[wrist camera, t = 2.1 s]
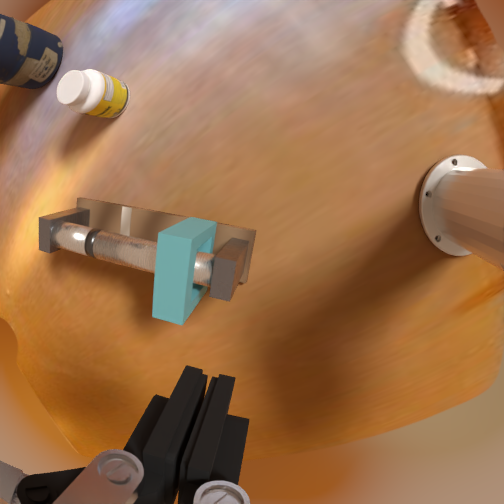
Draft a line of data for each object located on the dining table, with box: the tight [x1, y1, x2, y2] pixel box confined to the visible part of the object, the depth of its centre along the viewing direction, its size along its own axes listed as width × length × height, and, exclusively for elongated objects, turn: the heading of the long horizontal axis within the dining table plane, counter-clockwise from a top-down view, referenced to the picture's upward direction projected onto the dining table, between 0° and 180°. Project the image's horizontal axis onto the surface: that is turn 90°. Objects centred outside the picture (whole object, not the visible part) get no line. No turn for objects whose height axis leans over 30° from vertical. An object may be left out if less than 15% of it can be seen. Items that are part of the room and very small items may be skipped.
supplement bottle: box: [57, 69, 130, 118], centre depth 30 cm, size 5×5×10 cm
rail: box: [39, 207, 249, 301], centre depth 34 cm, size 24×4×9 cm, turn 80°
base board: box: [77, 198, 256, 283], centre depth 38 cm, size 25×6×1 cm, turn 80°
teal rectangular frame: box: [152, 217, 217, 325], centre depth 31 cm, size 3×8×9 cm, turn 170°
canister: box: [0, 14, 63, 89], centre depth 25 cm, size 10×10×18 cm
